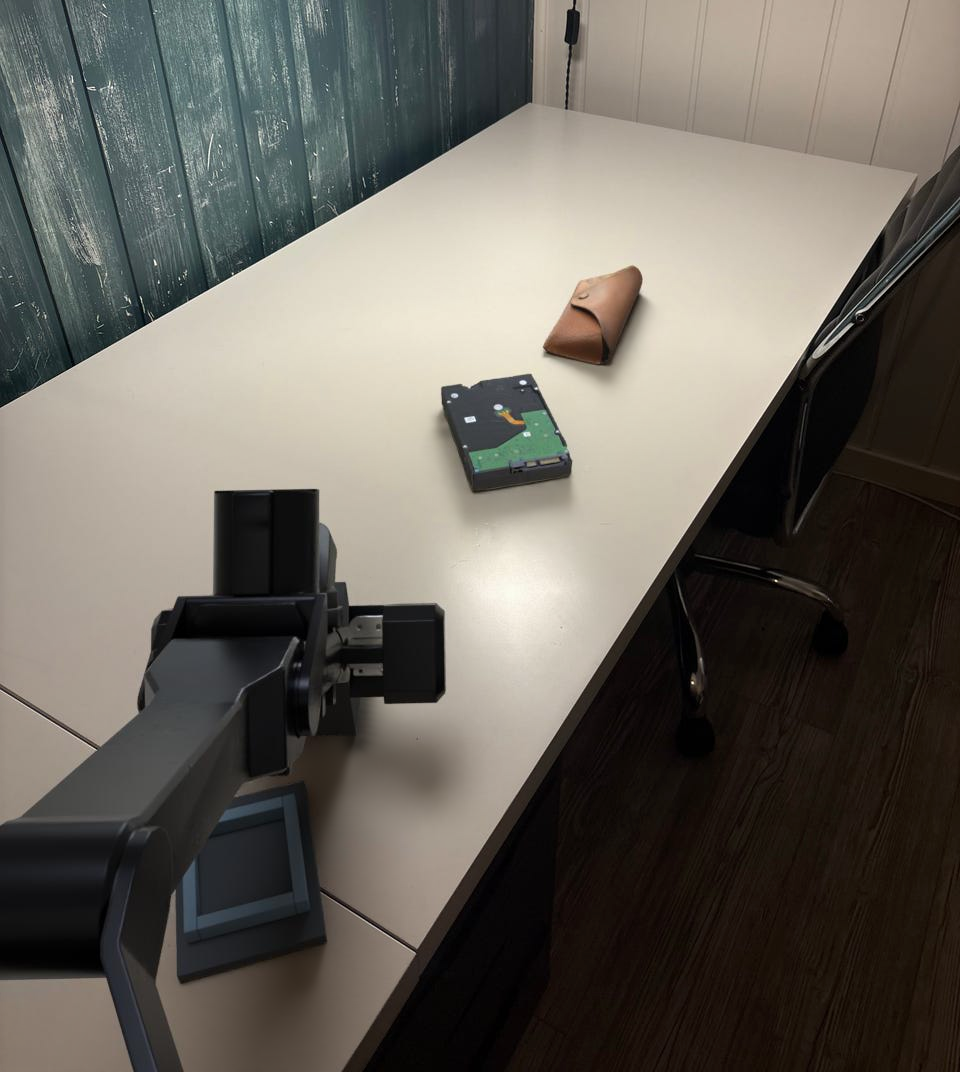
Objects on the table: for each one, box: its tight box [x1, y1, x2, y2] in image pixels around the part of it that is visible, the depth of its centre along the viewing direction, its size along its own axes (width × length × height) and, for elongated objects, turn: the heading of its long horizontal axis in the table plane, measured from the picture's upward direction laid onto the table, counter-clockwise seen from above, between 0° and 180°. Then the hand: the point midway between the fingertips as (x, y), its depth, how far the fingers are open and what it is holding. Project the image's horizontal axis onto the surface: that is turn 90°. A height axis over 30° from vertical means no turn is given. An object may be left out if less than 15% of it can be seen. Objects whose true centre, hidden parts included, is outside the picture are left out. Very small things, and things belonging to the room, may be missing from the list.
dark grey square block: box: [313, 581, 361, 737], centre depth 69 cm, size 4×4×12 cm
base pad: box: [174, 780, 328, 984], centre depth 62 cm, size 11×9×2 cm
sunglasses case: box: [542, 265, 644, 366], centre depth 115 cm, size 18×7×7 cm
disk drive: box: [440, 373, 573, 492], centre depth 97 cm, size 10×3×15 cm
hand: (321, 641), depth 70 cm, fingers closed on dark grey square block, 4 cm apart
